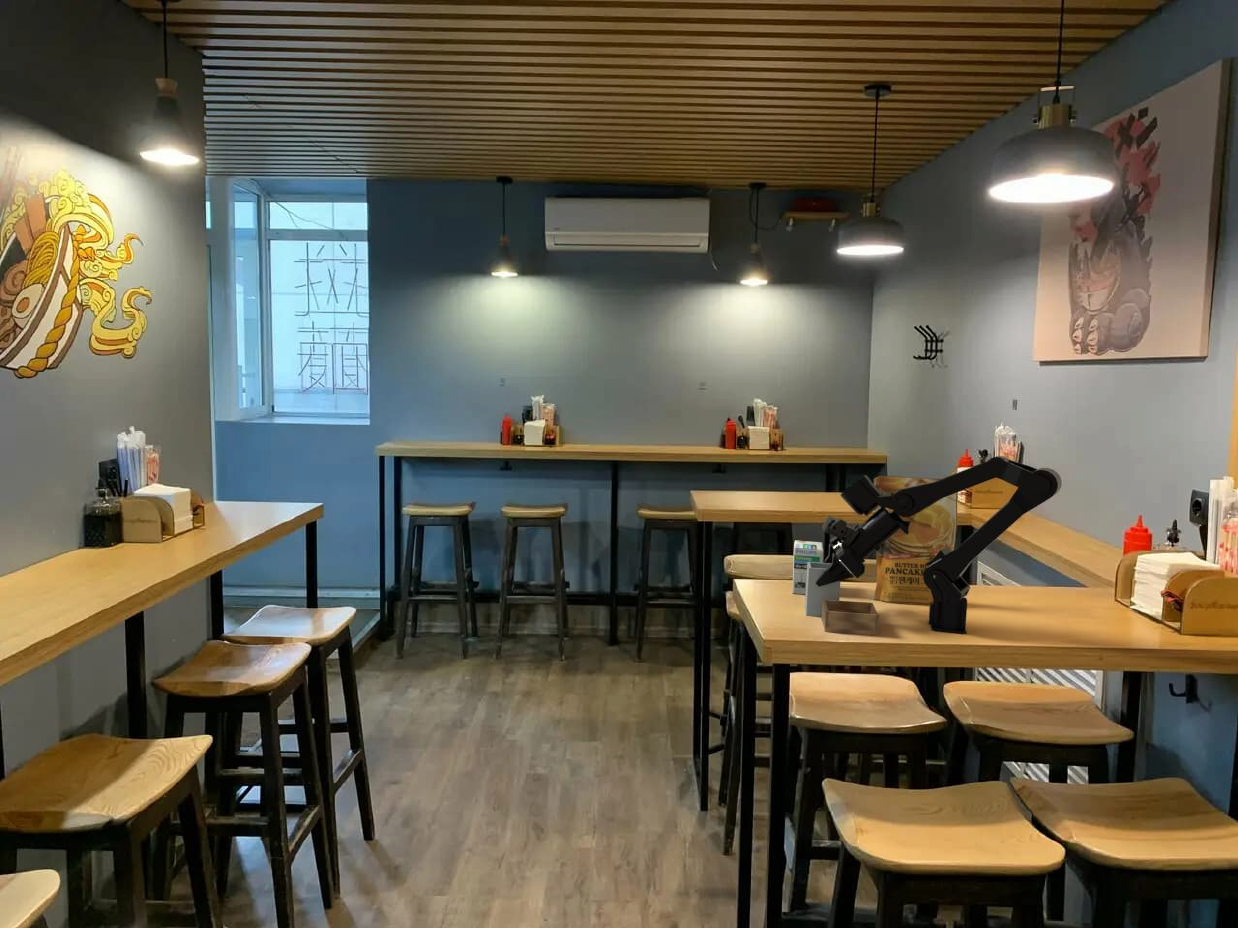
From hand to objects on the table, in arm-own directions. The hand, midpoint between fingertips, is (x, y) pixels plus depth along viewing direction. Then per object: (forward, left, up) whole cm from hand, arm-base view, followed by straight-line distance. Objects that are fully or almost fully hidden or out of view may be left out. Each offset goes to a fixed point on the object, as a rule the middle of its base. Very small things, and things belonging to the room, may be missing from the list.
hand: (816, 581), depth 188 cm
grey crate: (-1, 0, -7) cm, 7 cm away
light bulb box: (+4, -20, -7) cm, 22 cm away
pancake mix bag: (-19, -19, -7) cm, 28 cm away
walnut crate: (-7, +9, -7) cm, 13 cm away
